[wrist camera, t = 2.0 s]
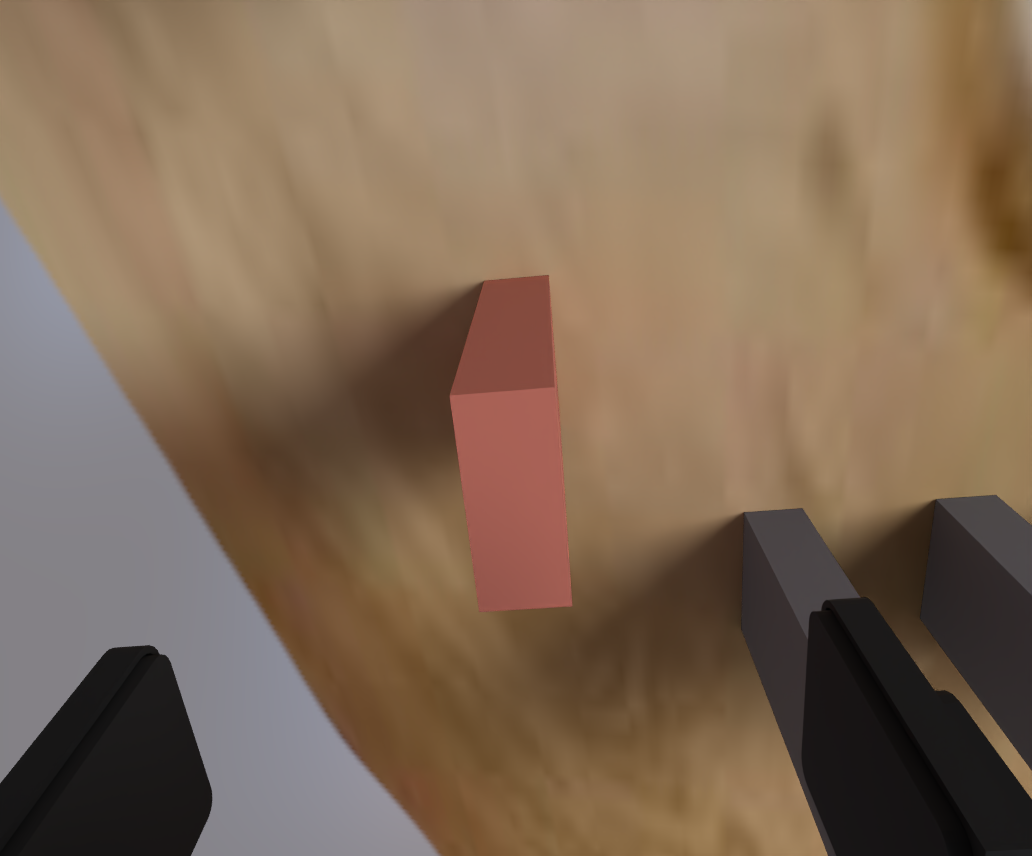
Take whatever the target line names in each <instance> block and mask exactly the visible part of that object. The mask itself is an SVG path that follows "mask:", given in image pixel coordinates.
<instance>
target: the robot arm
mask: <svg viewBox="0 0 1032 856" xmlns="http://www.w3.org/2000/svg"><path fill="white" fill-rule="evenodd" d="M801 760H802V768H803V773H804V777H805V781H806V784H807V786H808V789H809V791H810V794H811V796H812V798H813V801H814V803H815V806H816V808H817V811H818V813H819V815H820V818H821V820H822V823H823V825H824V827H825V830H826V832H827V835H828V837H829V840H830V842H831V844H832V847H833V849H834V852H835V854H836V856H1032V799H1031V798H1030V796H1029V795H1028V794H1027V792H1026V791H1025V790H1024V788H1023V787H1022V786H1021V784H1020V783H1019V781H1018V780H1017V779H1016V777H1015V776H1014V775H1013V773H1012V772H1011V771H1010V769H1009V768H1008V766H1007V765H1006V764H1005V762H1004V761H1003V760H1002V758H1001V757H1000V756H999V754H998V753H997V752H996V750H995V749H994V747H993V746H992V745H991V743H990V742H989V741H988V739H987V738H986V737H985V735H984V734H983V733H982V731H981V730H980V728H979V727H978V726H977V724H976V723H975V722H974V720H973V719H972V718H971V716H970V715H969V713H968V712H967V711H966V709H965V708H964V707H963V705H962V704H961V703H960V702H959V701H958V699H957V698H956V697H955V696H954V695H953V694H951V693H949V692H947V691H945V690H943V691H934V689H933V688H932V686H931V685H930V683H929V682H928V681H927V679H926V678H925V676H924V675H923V674H922V672H921V671H920V669H919V668H918V666H917V665H916V664H915V662H914V661H913V659H912V658H911V657H910V655H909V654H908V652H907V651H906V649H905V648H904V647H903V645H902V644H901V642H900V641H899V640H898V638H897V637H896V635H895V634H894V632H893V631H892V630H891V628H890V627H889V625H888V624H887V623H886V621H885V620H884V618H883V617H882V615H881V614H880V613H879V611H878V610H877V608H876V607H875V606H874V604H873V603H872V602H871V601H870V600H869V599H868V598H866V597H861V598H846V599H832V600H825V601H824V602H823V604H822V608H821V611H813V612H811V614H810V617H809V629H808V647H807V664H806V682H805V699H804V717H803V734H802V752H801ZM211 806H212V790H211V786H210V783H209V780H208V777H207V774H206V771H205V768H204V764H203V761H202V758H201V756H200V752H199V749H198V746H197V743H196V740H195V737H194V733H193V730H192V727H191V724H190V721H189V718H188V715H187V712H186V709H185V706H184V703H183V700H182V696H181V693H180V690H179V687H178V684H177V681H176V678H175V675H174V671H173V668H172V666H171V662H170V661H169V658H168V657H167V656H166V655H160V654H159V653H158V650H157V649H156V648H155V647H153V646H150V645H147V646H132V647H118V648H112V649H109V650H108V651H107V652H106V653H105V654H104V655H103V656H102V657H101V659H100V660H99V661H98V662H97V664H96V665H95V666H94V667H93V668H92V670H91V671H90V672H89V674H88V675H87V676H86V677H85V678H84V680H83V681H82V682H81V683H80V685H79V686H78V687H77V689H76V690H75V691H74V692H73V693H72V695H71V696H70V697H69V698H68V700H67V701H66V702H65V703H64V705H63V706H62V707H61V708H60V710H59V711H58V712H57V713H56V715H55V716H54V717H53V718H52V720H51V721H50V722H49V723H48V725H47V726H46V727H45V728H44V730H43V731H42V732H41V733H40V735H39V736H38V737H37V738H36V740H35V741H34V742H33V743H32V745H31V746H30V747H29V748H28V750H27V751H26V752H25V753H24V755H23V756H22V757H21V758H20V760H19V761H18V762H17V763H16V765H15V766H14V767H13V768H12V770H11V771H10V772H9V774H8V775H7V776H6V777H5V778H4V780H3V781H2V782H1V783H0V856H191V854H192V852H193V849H194V848H195V845H196V843H197V841H198V839H199V837H200V834H201V832H202V830H203V828H204V825H205V824H206V822H207V819H208V817H209V814H210V811H211Z"/></svg>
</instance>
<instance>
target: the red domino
mask: <svg viewBox="0 0 1032 856" xmlns="http://www.w3.org/2000/svg"><path fill="white" fill-rule="evenodd" d="M450 402H451V410H452V417H453V424H454V431H455V439H456V446H457V453H458V460H459V468H460V475H461V482H462V489H463V497H464V504H465V511H466V518H467V526H468V533H469V540H470V547H471V554H472V562H473V569H474V576H475V583H476V591H477V598H478V605H479V612H488V611H504V610H520V609H536V608H552V607H569V606H572V595H571V579H570V564H569V549H568V534H567V519H566V504H565V488H564V473H563V458H562V443H561V428H560V414H559V402H558V389H557V376H556V364H555V351H554V338H553V325H552V313H551V300H550V287H549V275H545V276H534V277H523V278H511V279H500V280H489V281H484V283H483V286H482V290H481V293H480V296H479V300H478V303H477V306H476V310H475V313H474V316H473V320H472V323H471V326H470V330H469V333H468V336H467V339H466V343H465V346H464V349H463V353H462V356H461V359H460V363H459V366H458V369H457V373H456V376H455V379H454V383H453V386H452V389H451V392H450Z"/></svg>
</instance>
